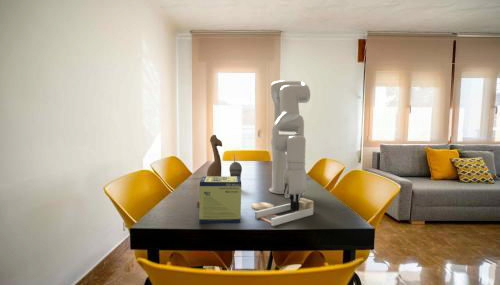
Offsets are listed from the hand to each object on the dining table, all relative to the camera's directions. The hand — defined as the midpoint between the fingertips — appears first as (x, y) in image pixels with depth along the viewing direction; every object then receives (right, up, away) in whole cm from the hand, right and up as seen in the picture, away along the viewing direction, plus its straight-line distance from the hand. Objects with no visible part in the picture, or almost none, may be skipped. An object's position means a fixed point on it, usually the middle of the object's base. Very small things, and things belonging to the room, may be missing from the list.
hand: (294, 209), depth 106 cm
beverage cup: (-27, +1, +40) cm, 48 cm away
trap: (-10, -2, -7) cm, 12 cm away
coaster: (-13, -1, +8) cm, 15 cm away
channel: (-4, -2, -3) cm, 6 cm away
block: (+4, -1, +3) cm, 6 cm away
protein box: (-30, -2, -7) cm, 31 cm away
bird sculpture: (-35, -1, +11) cm, 37 cm away
